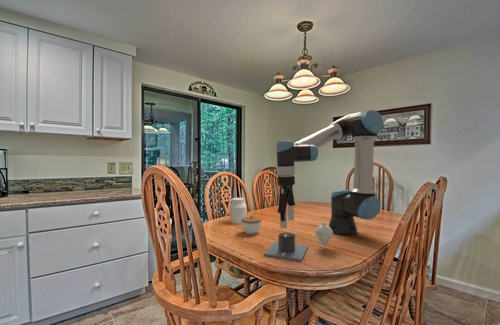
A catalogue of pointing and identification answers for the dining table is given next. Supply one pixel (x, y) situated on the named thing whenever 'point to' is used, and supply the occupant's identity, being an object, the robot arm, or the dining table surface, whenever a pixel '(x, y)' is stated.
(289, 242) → the knob
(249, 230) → the lidded jar
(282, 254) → the shaft plate
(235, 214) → the jar
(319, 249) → the dining table surface
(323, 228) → the spinning top
